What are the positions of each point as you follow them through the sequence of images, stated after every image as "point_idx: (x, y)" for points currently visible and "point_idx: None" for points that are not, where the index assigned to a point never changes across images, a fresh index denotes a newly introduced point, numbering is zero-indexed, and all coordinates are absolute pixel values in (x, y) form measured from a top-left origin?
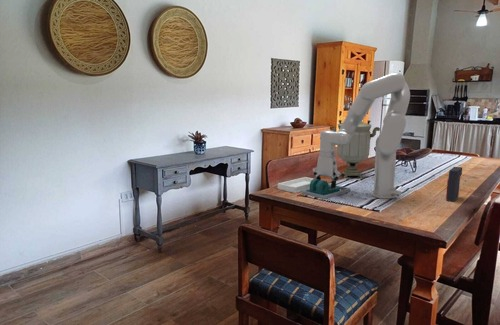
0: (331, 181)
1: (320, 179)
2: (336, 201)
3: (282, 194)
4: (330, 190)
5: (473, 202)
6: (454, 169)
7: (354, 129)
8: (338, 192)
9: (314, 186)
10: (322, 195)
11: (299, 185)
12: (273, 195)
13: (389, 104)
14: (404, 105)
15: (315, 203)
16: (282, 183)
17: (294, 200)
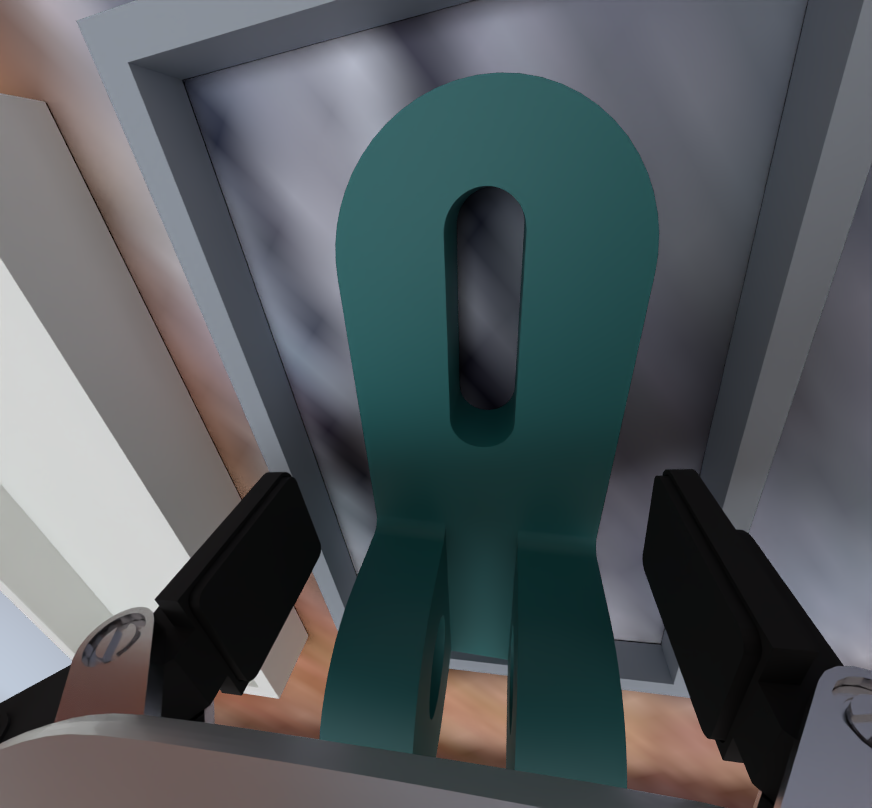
0: (718, 745)
1: (235, 561)
2: (868, 659)
3: (299, 691)
4: (602, 504)
5: None
6: None
7: None
8: (769, 454)
9: (441, 699)
10: (648, 686)
11: (70, 474)
12: (295, 722)
13: None
14: None
15: (680, 754)
16: (64, 630)
17: (487, 749)
